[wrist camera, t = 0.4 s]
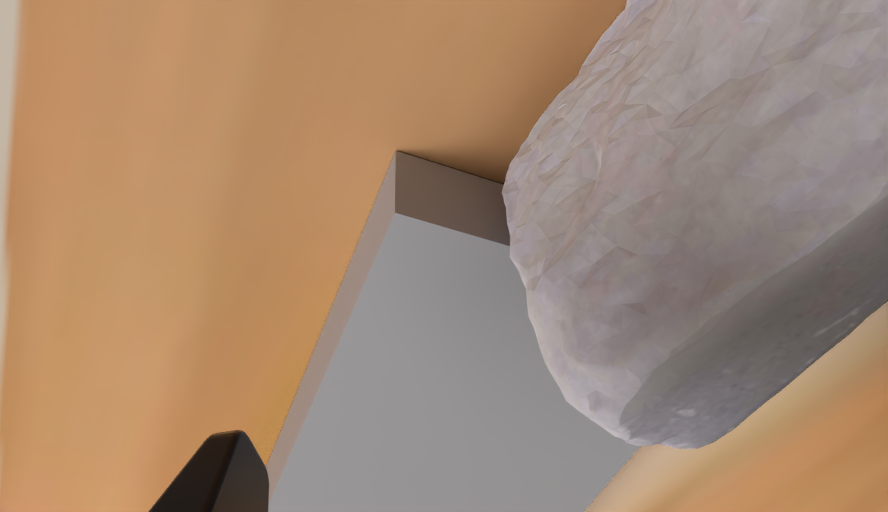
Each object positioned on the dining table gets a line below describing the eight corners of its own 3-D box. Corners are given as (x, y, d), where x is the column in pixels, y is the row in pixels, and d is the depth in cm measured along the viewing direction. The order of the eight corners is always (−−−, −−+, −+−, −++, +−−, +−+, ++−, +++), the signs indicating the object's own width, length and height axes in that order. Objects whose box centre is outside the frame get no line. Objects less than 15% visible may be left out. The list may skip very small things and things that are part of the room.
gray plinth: (719, 252, 25) (752, 317, 23) (511, 519, 34) (519, 585, 32) (395, 150, 22) (394, 212, 20) (263, 472, 31) (252, 540, 29)
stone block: (607, 223, 24) (704, 508, 16) (474, 159, 22) (513, 443, 15) (926, -146, 18) (1335, 34, 10) (774, -272, 16) (1124, -176, 8)
